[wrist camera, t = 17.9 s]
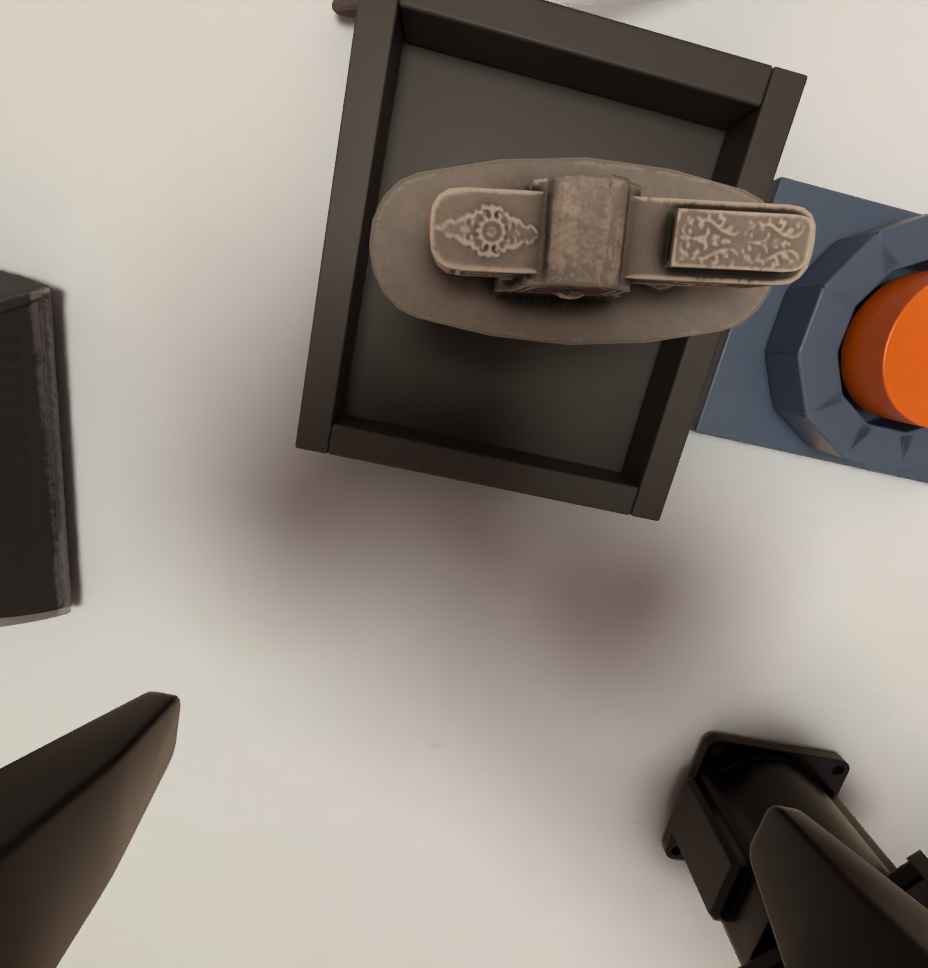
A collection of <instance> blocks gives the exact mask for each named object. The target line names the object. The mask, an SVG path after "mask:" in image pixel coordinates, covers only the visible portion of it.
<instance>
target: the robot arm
mask: <svg viewBox="0 0 928 968" xmlns="http://www.w3.org/2000/svg"><path fill="white" fill-rule="evenodd" d="M179 713H180V699H179V698H178V697H177V696H176V695H171V694H165V693H160V692H147V693H145V694H143V695H141V696H139V697H137V698H135V699H133V700H131V701H129V702H127V703H125V704H124V705H122V706H120V707H118V708H116V709H114V710H112V711H110V712H108V713H106V714H104V715H102V716H100V717H99V718H97V719H95V720H93V721H91V722H89V723H87V724H85V725H83V726H81V727H79V728H77V729H76V730H74V731H72V732H70V733H68V734H66V735H64V736H62V737H60V738H58V739H56V740H54V741H52V742H51V743H49V744H47V745H45V746H43V747H41V748H39V749H37V750H35V751H33V752H31V753H29V754H27V755H26V756H24V757H22V758H20V759H18V760H16V761H14V762H12V763H10V764H8V765H6V766H4V767H3V768H1V769H0V968H56V967H57V965H58V963H59V962H60V960H61V959H62V957H63V955H64V954H65V952H66V951H67V949H68V947H69V946H70V944H71V943H72V941H73V939H74V938H75V936H76V935H77V933H78V931H79V930H80V928H81V927H82V925H83V923H84V922H85V920H86V919H87V917H88V915H89V914H90V912H91V911H92V909H93V907H94V906H95V904H96V903H97V901H98V899H99V898H100V896H101V894H102V893H103V891H104V889H105V888H106V886H107V884H108V883H109V881H110V879H111V877H112V876H113V874H114V872H115V870H116V868H117V866H118V864H119V862H120V860H121V858H122V857H123V855H124V853H125V851H126V849H127V847H128V845H129V843H130V841H131V839H132V837H133V835H134V833H135V831H136V829H137V827H138V825H139V823H140V821H141V819H142V817H143V815H144V813H145V811H146V809H147V807H148V805H149V803H150V801H151V799H152V797H153V795H154V793H155V791H156V789H157V787H158V785H159V783H160V781H161V779H162V777H163V775H164V773H165V771H166V769H167V767H168V765H169V762H170V760H171V758H172V755H173V752H174V749H175V744H176V737H177V729H178V721H179ZM718 745H719V746H718ZM715 746H718V747H716V748H714V747H715ZM849 769H850V768H849V765H848V763H847V762H846V761H845V760H844V759H843V758H842V757H841V756H840V755H838V754H834V753H828V752H822V751H816V750H810V749H804V748H799V747H793V746H787V745H781V744H775V743H769V742H763V741H757V740H751V739H745V738H739V737H733V736H727V735H722V734H711V735H709V736H707V737H706V738H705V739H704V741H703V742H702V745H701V747H700V750H699V752H698V755H697V757H696V760H695V762H694V765H693V767H692V770H691V772H690V775H689V777H688V780H687V781H686V783H685V785H684V788H683V790H682V793H681V795H680V798H679V800H678V803H677V805H676V808H675V810H674V813H673V815H672V818H671V820H670V823H669V827H668V829H667V832H666V834H665V837H664V839H663V843H662V845H663V848H664V850H665V852H666V855H667V856H668V857H669V858H672V859H677V860H683V861H685V862H686V864H687V866H688V868H689V871H690V873H691V875H692V877H693V880H694V882H695V884H696V886H697V888H698V891H699V893H700V895H701V897H702V900H703V902H704V904H705V906H706V909H707V911H708V913H709V914H710V915H711V917H712V918H713V920H716V921H721V922H722V924H723V927H724V929H725V931H726V933H727V935H728V937H729V940H730V942H731V944H732V946H733V948H734V950H735V953H736V955H737V957H738V959H739V961H740V963H741V966H740V967H738V968H928V858H927V857H926V856H925V855H924V854H923V853H922V851H921V850H918V851H917V852H915V853H913V854H912V855H910V856H909V857H907V858H906V859H907V860H908V862H906V863H904V864H903V865H901V866H900V867H898V868H896V867H895V866H894V864H893V863H892V862H891V861H890V860H889V858H888V857H887V856H886V855H885V854H884V852H883V851H882V850H881V849H880V848H879V846H878V845H877V844H876V843H875V842H874V840H873V839H872V838H871V837H870V835H869V834H868V833H867V832H866V831H865V829H864V828H863V827H862V826H861V825H860V823H859V822H858V821H857V820H856V819H855V817H854V816H853V815H852V814H851V813H850V811H849V810H848V809H847V808H846V807H845V805H844V804H843V803H842V802H841V801H840V799H839V798H838V797H837V794H838V792H839V790H840V788H841V786H842V784H843V782H844V780H845V778H846V776H847V774H848V772H849Z"/></svg>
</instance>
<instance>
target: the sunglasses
mask: <svg viewBox="0 0 928 968" xmlns="http://www.w3.org/2000/svg"><path fill="white" fill-rule="evenodd" d="M357 5H358V0H334V1H333V3H332V8H333V10H334V11H335V12H336V13H337V14H338V15H341V16H346V17H352V18H356V13H357Z"/></svg>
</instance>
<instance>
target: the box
mask: <svg viewBox="0 0 928 968" xmlns="http://www.w3.org/2000/svg"><path fill="white" fill-rule="evenodd" d="M766 203H768V204H787V205H794V206H799V207H803V208H805V209H806V210H807V211H808V212H810V213H811V214H812V216H813V219H814V222H815V224H816V230H815V242H814V247H813V252H812V256H811V259H810V262H809V265H808V268H807V269H806V271H805V272H804V273H803V274H802V276H801V277H800V278H799V279H797V280H795V281H793V282H791V283H789V284H783V285H774V286H772V289H771V291H770V292H769V294H768V295H767V297H766V298H765V300H764V301H763V303H762V304H761V306H760V307H759V309H758V310H757V311H756V312H755V313H753V314H752V315H751V316H750V317H749V318H747V319H746V320H745V321H744V322H743V323H741V324H739V325H737V326H734V327H731V328H729V329H726V330H723V331H722V334H721V337H720V340H719V343H718V346H717V349H716V352H715V355H714V358H713V361H712V364H711V367H710V370H709V373H708V376H707V379H706V382H705V385H704V388H703V391H702V394H701V397H700V400H699V403H698V406H697V409H696V412H695V415H694V418H693V421H692V424H691V427H690V430H692V431H695V432H698V433H702V434H707V435H711V436H716V437H720V438H725V439H730V440H734V441H739V442H743V443H748V444H752V445H757V446H761V447H766V448H770V449H775V450H779V451H784V452H788V453H793V454H798V455H802V456H807V457H811V458H816V459H820V460H825V461H829V462H834V463H838V464H843V465H847V466H852V467H856V468H861V469H866V470H870V471H875V472H879V473H884V474H888V475H893V476H897V477H902V478H906V479H911V480H915V481H920V482H924V483H928V428H925V427H921V426H916V425H912V424H907V423H902V422H898V421H893V420H888V419H884V418H880V417H877V416H874V415H872V414H870V413H868V412H866V411H865V410H863V409H862V408H861V407H860V406H859V405H858V404H857V403H855V402H854V400H853V399H852V398H851V396H850V395H849V393H848V391H847V389H846V387H845V385H844V382H843V379H842V373H841V363H840V360H841V350H842V345H843V340H844V337H845V334H846V332H847V329H848V327H849V325H850V323H851V321H852V319H853V318H854V316H855V314H856V313H857V311H858V310H859V309H860V307H861V306H862V305H863V304H864V303H865V302H866V301H867V299H868V298H869V297H870V296H871V295H873V294H874V293H875V292H876V291H877V290H878V289H880V288H881V287H883V286H884V285H886V284H887V283H889V282H891V281H893V280H894V279H896V278H899V277H901V276H904V275H906V274H910V273H914V272H919V271H928V214H925V215H921V214H918V213H914V212H910V211H907V210H903V209H899V208H895V207H892V206H888V205H884V204H880V203H877V202H873V201H869V200H866V199H862V198H858V197H854V196H851V195H847V194H843V193H840V192H836V191H832V190H828V189H825V188H821V187H817V186H814V185H810V184H806V183H802V182H799V181H795V180H791V179H788V178H784V177H780V178H778V179H776V180H773V182H772V185H771V188H770V191H769V194H768V197H767V200H766Z"/></svg>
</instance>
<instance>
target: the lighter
mask: <svg viewBox="0 0 928 968" xmlns="http://www.w3.org/2000/svg"><path fill="white" fill-rule="evenodd" d="M815 230H816V224H815V222H814V219H813V216H812V214H811V213H810V212H808V211H807V210H806V209H805V208H803V207H799V206H794V205H787V204H768V203H764V202H763V200H761V199H760V198H758V197H756V196H754V195H753V194H751V193H749V192H747V191H746V190H742V189H739V188H735V187H732V186H728V185H725V184H721V183H718V182H714V181H711V180H707V179H703V178H700V177H696V176H693V175H689V174H686V173H682V172H679V171H675V170H672V169H666V168H659V167H652V166H645V165H637V164H630V163H623V162H616V161H608V160H601V159H594V158H587V157H585V158H542V159H500V160H494V161H488V162H481V163H475V164H469V165H462V166H456V167H450V168H443V169H437V170H431V171H424V172H419V173H416V174H414V175H411V176H409V177H406V178H404V179H402V180H399V181H398V182H397V183H396V184H395V185H394V186H393V187H392V188H391V189H390V190H389V191H388V192H387V193H386V194H385V196H384V197H383V198H382V200H381V203H380V205H379V207H378V209H377V211H376V213H375V215H374V218H373V220H372V228H371V235H370V242H369V247H370V254H371V261H372V268H373V272H374V274H375V276H376V278H377V280H378V283H379V285H380V287H381V289H382V291H383V293H384V294H385V295H386V296H387V297H388V298H389V299H390V300H391V301H392V302H393V303H394V305H395V306H396V307H397V308H398V309H400V310H402V311H404V312H406V313H408V314H410V315H412V316H414V317H417V318H421V319H425V320H428V321H432V322H436V323H440V324H445V325H449V326H453V327H457V328H461V329H465V330H469V331H473V332H478V333H482V334H486V335H490V336H498V337H506V338H515V339H523V340H532V341H541V342H549V343H558V344H566V345H581V344H613V343H645V342H654V341H660V340H667V339H673V338H679V337H686V336H692V335H699V334H705V333H712V332H718V331H723V330H726V329H729V328H731V327H734V326H737V325H739V324H741V323H743V322H744V321H745V320H746V319H747V318H749V317H750V316H751V315H752V314H753V313H755V312H756V311H757V310H758V309H759V307H760V306H761V304H762V303H763V301H764V300H765V298H766V297H767V295H768V294H769V292H770V291H771V289H772V286H774V285H783V284H789V283H791V282H793V281H795V280H797V279H799V278H800V277H801V276H802V274H803V273H804V272H805V271H806V269H807V268H808V265H809V262H810V259H811V256H812V252H813V247H814V242H815Z"/></svg>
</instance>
